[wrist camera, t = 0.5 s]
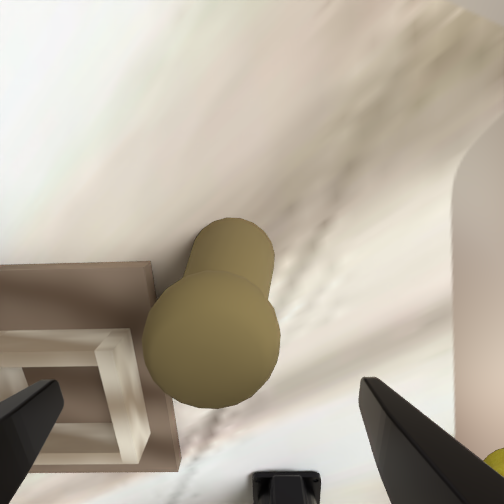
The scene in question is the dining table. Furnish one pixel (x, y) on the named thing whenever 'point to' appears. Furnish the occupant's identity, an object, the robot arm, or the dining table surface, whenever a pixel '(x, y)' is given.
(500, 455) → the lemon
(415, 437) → the robot arm
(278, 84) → the dining table surface
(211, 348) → the olive green rounded peg
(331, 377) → the dining table surface
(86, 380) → the socket board
